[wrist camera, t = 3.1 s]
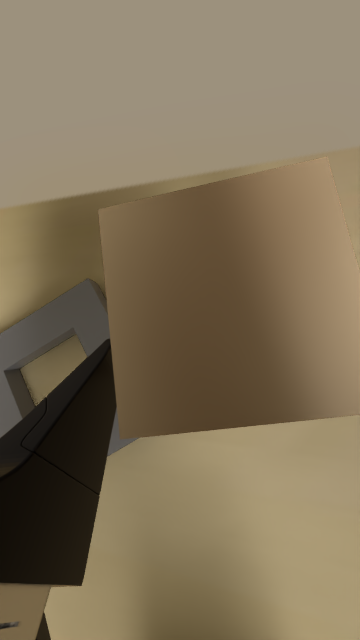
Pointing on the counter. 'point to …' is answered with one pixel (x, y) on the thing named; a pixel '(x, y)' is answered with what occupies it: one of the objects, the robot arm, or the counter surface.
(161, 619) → the counter surface
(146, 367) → the maple peg
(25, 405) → the socket board
